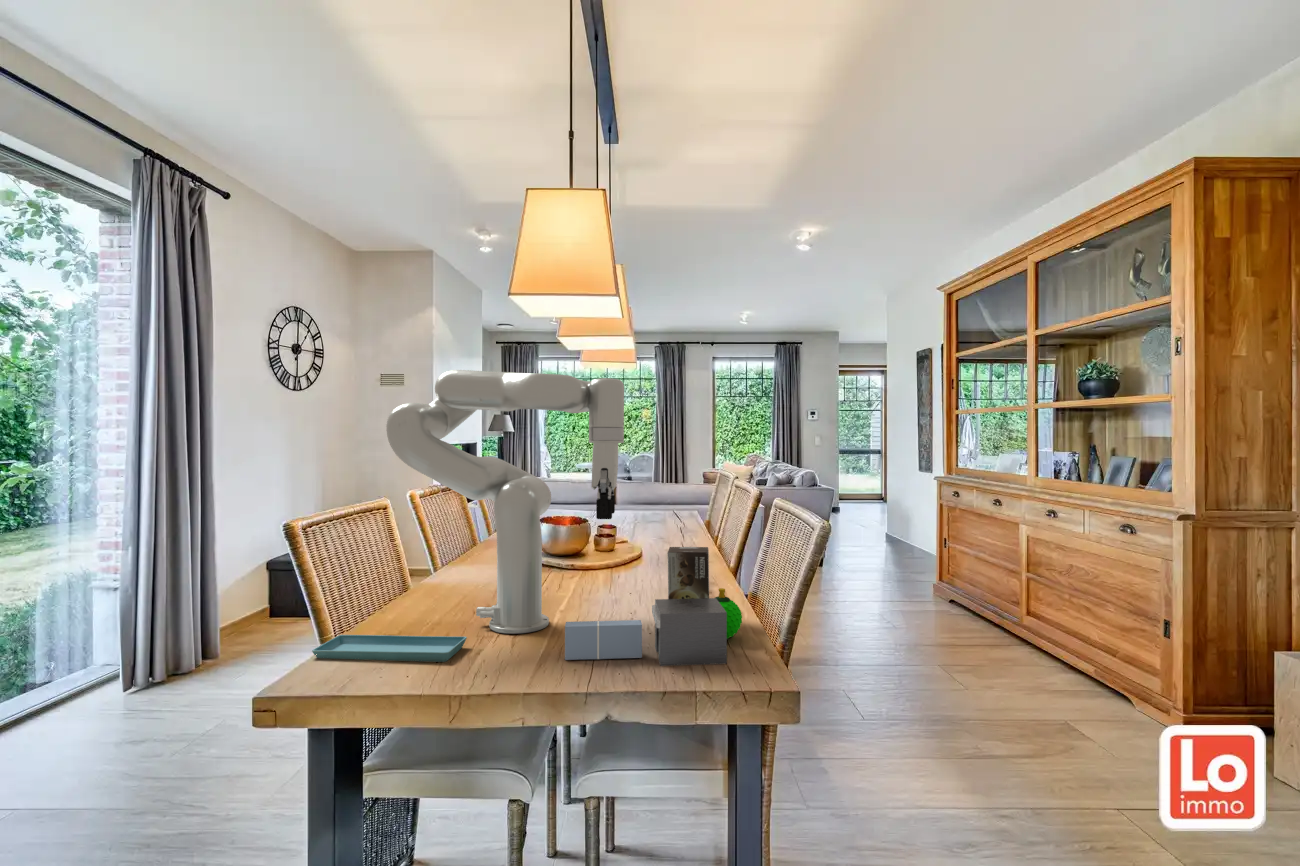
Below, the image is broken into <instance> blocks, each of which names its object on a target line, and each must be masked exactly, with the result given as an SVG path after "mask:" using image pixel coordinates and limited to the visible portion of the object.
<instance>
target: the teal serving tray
mask: <svg viewBox="0 0 1300 866" xmlns="http://www.w3.org/2000/svg"><path fill="white" fill-rule="evenodd" d="M467 638H468V637H467V636H444V635H443V636H442V635H441V636H440V635H438V636H436V635H435V636H433V635H432V636H431V635H430V636H429V635H428V636H427V635H425V636H424V635H423V636H422V635H386V634H385V635H382V634H381V635H380V634H379V635H378V634H377V635H376V634H340V635H337V636H335V637H334V638H333V637H332V639H330V640H327V641H326V642H324V643H322V644H321V645H319V646H317V647H315V648H313V649H312V651H311V652H312V653H313V655H314V656H315V655H316V654H317V655H316V656H315V657H316V659H332V660H334V659H335V660H360V661H362V660H363V661H364V660H366V661H367V660H368V661H395V662H396V661H398V662H428V663H429V662H434V663H436V662H437V663H446V662H448V661H449V660H450V659H451V658H452V657H453V656H455V655H456V654H457V653H458V652H459V651H460V650H461V649H462V648H463V646H464V644H465V642H466V640H467Z"/></svg>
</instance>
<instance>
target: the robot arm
mask: <svg viewBox="0 0 1300 866" xmlns="http://www.w3.org/2000/svg"><path fill="white" fill-rule="evenodd" d="M434 393H435V395H436V398H434V399H433V400H432V401H431V402H430V403H429V404H428V403H427V404H425V403H418V402H407V403H403V404H401V405H398V406H396V407H395V408H394V409H393V410H391V412H390V413H389V415H388V417H387V419H386V424H385V425H386V426H385V427H386V437H387V441H388V443H389V445H390V448H391V449H392V451H393V452H394V453H395V455H396V456H397V457H398V458H399V460H401V461H402V462H403V463H404V464H406V465H407V466H408V467H410V468H411V469H413V470H415V471H416V472H418V473H420V474H422V475H424V476H426V477H429V478H430V479H431V480H434V481H435V482H437V483H439V484H441V485H443V486H444V487H447V488H448V489H450V490H452V491H454V492H456V493H458V494H460V495H462V496H463V497H465V498H467V499H469V500H472V501H482V500H488V499H490V500H491V501H493V503H494V504H493V513H494V520H495V528H496V529H495V531H496V560H497V561H496V604H495V605H491V607H489V606H488V607H487V606H477V607H476V610H475V613H476V616H477V617H479V619H485V618H491V619H490V621H489V624H488V627H489V629H490V630H491V631H493V632H496V633H500V634H507V635H508V634H512V635H513V634H514V635H515V634H516V635H518V634H528V633H533V632H537V631H540V630H543V629H545V628H547V626H548V625H549V624H550V618H549V617H548V615H545V614H543V613H542V611H543V608H542V605H543V603H542V602H543V601H542V597H543V595H542V593H543V591H542V589H543V588H542V587H543V585H542V584H543V583H542V581H543V565H542V564H543V563H542V561H543V557H542V556H543V552H542V551H543V550H542V549H543V544H542V543H543V542H542V541H543V540H542V528H541V519H540V518H541V516H542V515H544V513H546V512H547V511H548V509H549V507H550V506H551V503H552V492H551V490H550V488H549V486H548V484H547V483H546V482H545V481H544V480H542V479H541V478H539V477H538V476H535V475H533V474H531V473H530V472H527V471H525V470H523V469H521V468H520V467H518V466H515V465H514V464H511V463H510V462H508V461H506V460H504V459H502V458H498V457H493V456H477V455H474V454H471V453H468V452H466V451H464V450H462V449H460V448H459V447H457V446H455V445H453V444H452V443H449V442H446V441H444V440H442V439H444V438H445V437H446V436H448V435H449V434H450V433H453V431H454V430H455V429H457V427H459V426H460V425H461V424H462V423H464V422H466V420H468V418H469V417H471V416H472V415H473V414H474V413H475V412H477V411H478V410H479V411H495V412H513V411H516V410H542V411H554V412H565V413H570V414H580V413H586V412H588V443H589V444H593V447H592V457H591V458H592V460H591V463H592V464H591V489H592V490H597V495H596V496H597V497H596V503H595V505H596V510H595V511H596V515H595V516H596V519H597V520H612V518H613V514H615V511H616V505H615V504H616V503H615V501H616V499H615V498H616V497H615V488H616V487H617V483H618V474H619V473H618V470H619V468H618V467H619V444H623V443H625V440H624V439H625V438H624V437H625V436H624V435H625V433H624V432H625V385H624V382H623V381H622V380H620V379H618V378H611V377H610V378H609V377H602V378H594V379H592V380H591V381H590V380H589V381H588V380H587V381H586V380H582V379H578V378H577V377H574V376H572V375H568V374H557V373H556V374H555V373H539V372H538V373H532V372H531V373H530V372H514V371H513V372H510V371H509V372H508V371H490V370H489V371H487V370H484V371H483V370H472V369H471V370H469V369H466V370H465V369H451V370H447V371H445V372H442V373H441V374H440V375H439V376H438V377H437V379H436V381H435V384H434Z"/></svg>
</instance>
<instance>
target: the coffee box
mask: <svg viewBox="0 0 1300 866" xmlns="http://www.w3.org/2000/svg"><path fill="white" fill-rule="evenodd" d="M709 554H710V552H709V547H708V546H669V549H668V551H667V591H668V593H667V594H668V595H667V599H699V598H710V568H709V567H710V558H709V557H710V555H709Z"/></svg>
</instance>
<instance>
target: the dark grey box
mask: <svg viewBox="0 0 1300 866" xmlns="http://www.w3.org/2000/svg"><path fill="white" fill-rule="evenodd" d="M651 613H652V617H653V621H654V648H655V652H656V653H658V663H659V666H660V667H663V666H664V667H665V666H694V665H695V666H696V665H698V666H701V665H703V666H704V665H726V664H728V660H727V657H728V655H727V653H728V652H727V651H728V650H727V649H728V647H727V646H728V644H727V640H728V639H727V612H726V611H725V609H724V608H723V607H722V605H721V604H720V603H719V601H718V600H717V599H716V598H715V597H711V598H710V597H709V598H699V599H668V598H665V599H664V598H659V599H656V598H655V599H654V604H652V605H651Z"/></svg>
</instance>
